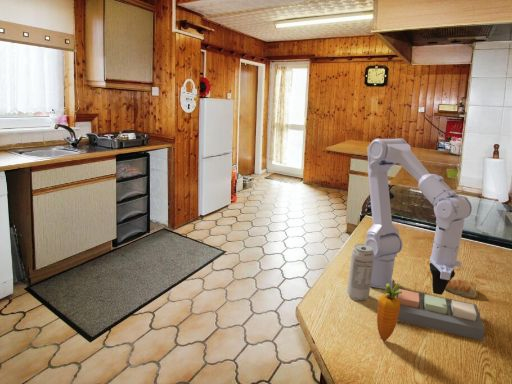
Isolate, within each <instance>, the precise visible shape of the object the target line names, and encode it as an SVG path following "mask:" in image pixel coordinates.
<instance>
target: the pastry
mask: <svg viewBox="0 0 512 384" xmlns="http://www.w3.org/2000/svg"><path fill="white" fill-rule="evenodd" d="M444 291H446V292H447V291H448V292H449V293H452V294H453V295H456V296H457V295H458V296H462V297H466V298H471V299H474V298H476V297H477V283H476V282H474V281H469V280H466V279H462V278H458V279H453V278H452V279H451V280H450V281H449V282H448V284H447V286H446V288H445V290H444Z"/></svg>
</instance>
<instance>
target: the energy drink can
mask: <svg viewBox="0 0 512 384" xmlns="http://www.w3.org/2000/svg"><path fill="white" fill-rule="evenodd" d="M373 262H374V253H373V248H372V247H371V246H369V245H365V243H357V244H355V245H354V247H353V249H352V250H351V255H350V265H349V273H348V283H347V290H346V291H347V294H348V295H349V296H348V297H349V298H350V299H352V300H355V301H360V302H361V301H366V300H367V298H369V295H370V290H371V286H370V284H371V276H372V269H373Z"/></svg>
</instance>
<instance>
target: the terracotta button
mask: <svg viewBox="0 0 512 384" xmlns="http://www.w3.org/2000/svg"><path fill="white" fill-rule="evenodd" d="M402 289H403V288H400V289H399V291H402V293H399V294H398V299H399V300H400V304H401V305H406V306H410V307H415V308H418V307H419V293H420V292H419V293H416V292H417V291H414V292H411V291H412V290H409V291H407V290H408V289H405V290H402Z"/></svg>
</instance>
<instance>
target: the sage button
mask: <svg viewBox="0 0 512 384" xmlns="http://www.w3.org/2000/svg"><path fill="white" fill-rule="evenodd" d="M424 294H425V296H424V301H423V309H424V310H428V311H433V312H437V313H442V314H446V312H447V304H446V299H445V298H446V297H443V298H440V297H441V296H438V297H435V296H436V295H433V296H431V295H432V294H428V295H426V294H427V293H424Z"/></svg>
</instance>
